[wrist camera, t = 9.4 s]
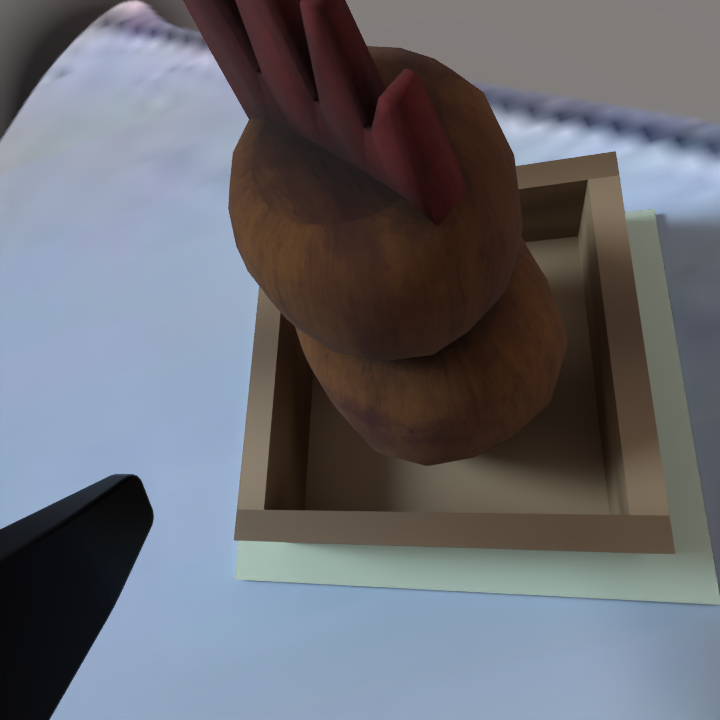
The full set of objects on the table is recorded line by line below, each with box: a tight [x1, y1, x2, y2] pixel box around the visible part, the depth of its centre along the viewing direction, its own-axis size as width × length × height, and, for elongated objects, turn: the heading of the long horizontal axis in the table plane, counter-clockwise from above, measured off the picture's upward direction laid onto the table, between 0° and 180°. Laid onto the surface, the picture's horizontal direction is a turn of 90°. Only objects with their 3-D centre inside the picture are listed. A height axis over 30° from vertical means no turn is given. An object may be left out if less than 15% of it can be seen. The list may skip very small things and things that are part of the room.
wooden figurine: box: [183, 0, 568, 466], centre depth 11 cm, size 7×6×15 cm
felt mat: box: [235, 209, 720, 605], centre depth 18 cm, size 12×14×1 cm
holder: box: [234, 151, 675, 554], centre depth 16 cm, size 11×11×4 cm
